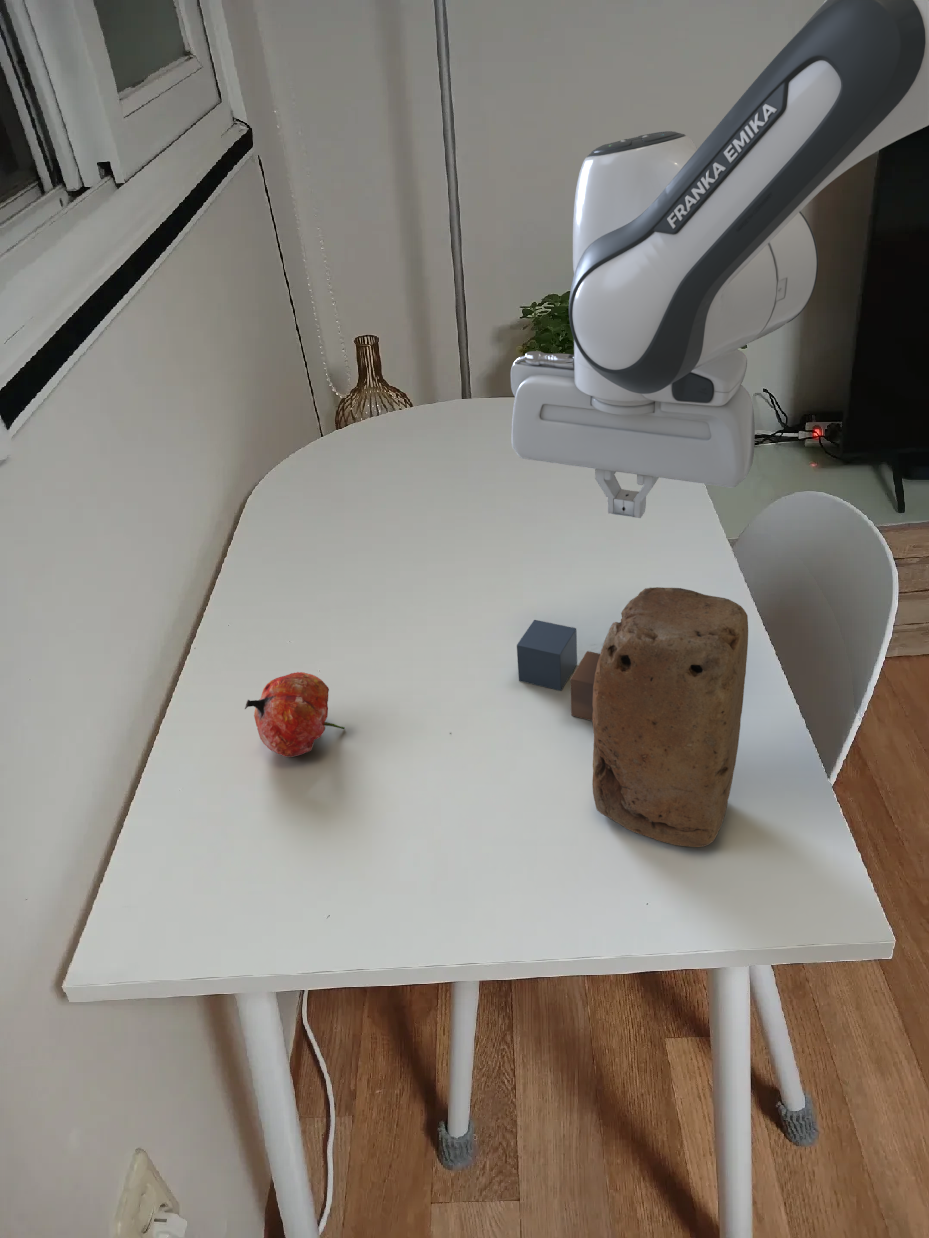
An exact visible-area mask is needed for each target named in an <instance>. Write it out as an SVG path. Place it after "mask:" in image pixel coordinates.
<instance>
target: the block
mask: <svg viewBox="0 0 929 1238" xmlns="http://www.w3.org/2000/svg"><path fill="white" fill-rule="evenodd" d="M620 614H621V619H620V622H618V621H614V622H613V623H612V624H611V626H610V627H609V630H608V633H607V635H606V637H605V640H604V641H603V645H602V648H601V651H600V653H599V654H600V656H599V660H598V663H597V668H596V672H595V680H594V686H593V720H592V721H591V722H592V730H593V752H592V782H591V783H592V795H593V800H594V804H595V809H596V810H597V812H598V813H600V814H601V815H603V816H605V817H607V818H609V819H611V820H612V821H614V822H615V823H617V824H619V825H620V826H622V827H623V828H625V829H626V830H629V831H630V832H633V833H636V834H639V835H642V836H645V837H647V838H650V839H653V840H655V841H658V842H663V843H666V844H669V845H674V846H678V847H679V846H680V847H681V846H682V847H688V848H689V847H690V848H700V847H705V846H708V845H710V844H712V843H713V842H714V841H715V839H716V838H717V836H718V833H719V832H720V830H721V828H722V825H723V822H724V820H725V815H726V811H727V808H728V803H729V797H730V795H731V794H730V793H731V789H732V784H733V778H734V772H735V767H736V762H737V755H738V748H739V741H740V731H741V720H742V713H743V705H744V692H745V682H746V674H747V663H748V660H747V659H748V648H749V647H748V646H749V618H748V613H747V612H746V610H745V609H744V608H743V606H742V605H740V604H739V603H737V602H735V601H733V600H731V599H729V598H725V597H721V596H714V595H708V594H703V593H701V592H698V591H695V590H692V589H687V588H681V587H660V586H659V587H646V588H644V589H642V590H641V591H640V592H639V593H638V594H637V596H635V597H634V598H632V599H630V600H629V601H628V603H627V604H626V605H625V607H624V608H623V609H622V611H621V612H620Z"/></svg>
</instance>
